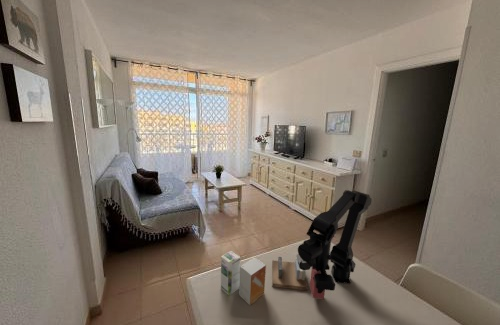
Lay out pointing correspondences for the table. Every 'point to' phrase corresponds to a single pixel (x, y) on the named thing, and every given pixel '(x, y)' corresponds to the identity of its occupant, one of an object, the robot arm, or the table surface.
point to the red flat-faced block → (313, 287)
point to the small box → (252, 280)
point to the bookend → (280, 267)
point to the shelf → (287, 276)
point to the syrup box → (230, 272)
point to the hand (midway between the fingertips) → (317, 286)
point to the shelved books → (299, 271)
